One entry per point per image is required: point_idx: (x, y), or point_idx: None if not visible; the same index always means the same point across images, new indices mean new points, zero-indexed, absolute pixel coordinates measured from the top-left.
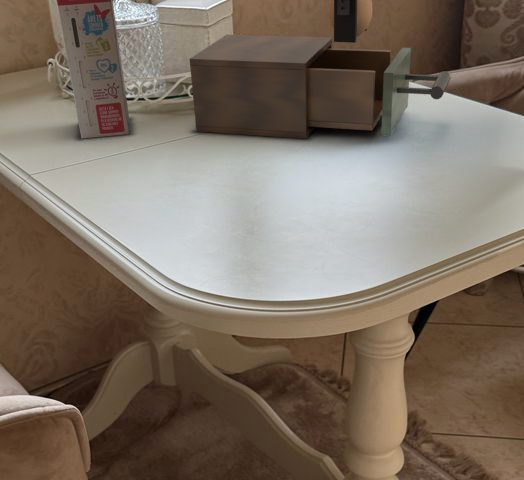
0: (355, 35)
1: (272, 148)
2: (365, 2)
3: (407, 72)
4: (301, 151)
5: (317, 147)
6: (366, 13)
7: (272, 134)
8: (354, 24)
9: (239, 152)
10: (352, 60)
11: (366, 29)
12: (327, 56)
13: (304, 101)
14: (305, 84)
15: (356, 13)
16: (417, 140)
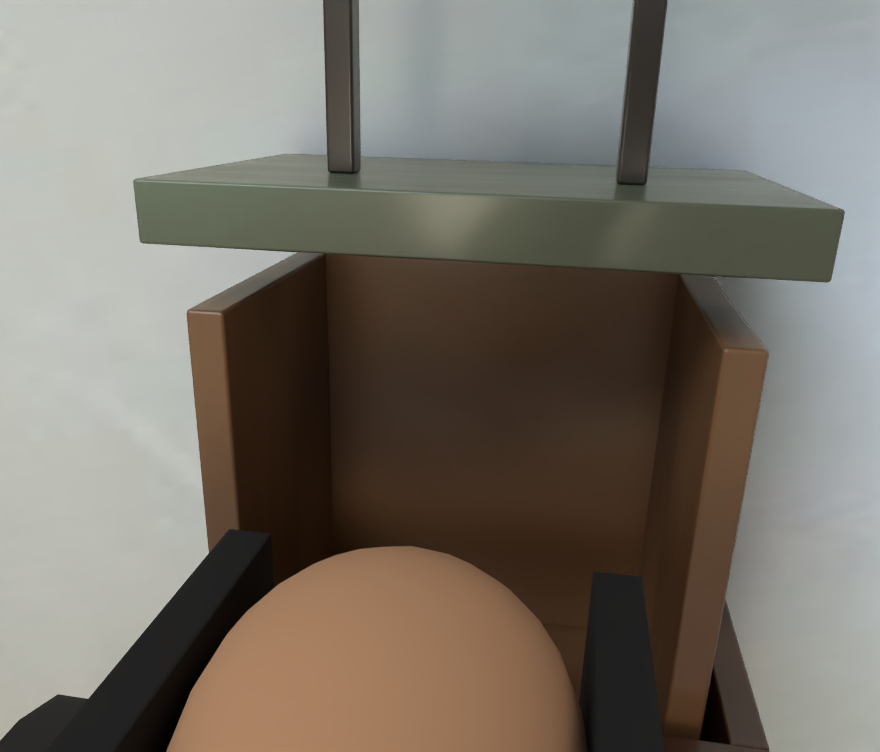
0: (635, 606)
1: (824, 631)
2: (474, 724)
3: (282, 170)
4: (860, 525)
5: (808, 472)
6: (493, 635)
7: None
8: (651, 676)
9: (872, 732)
10: (265, 508)
11: (241, 534)
12: None
13: (734, 632)
14: (750, 687)
15: (618, 732)
16: (690, 37)
